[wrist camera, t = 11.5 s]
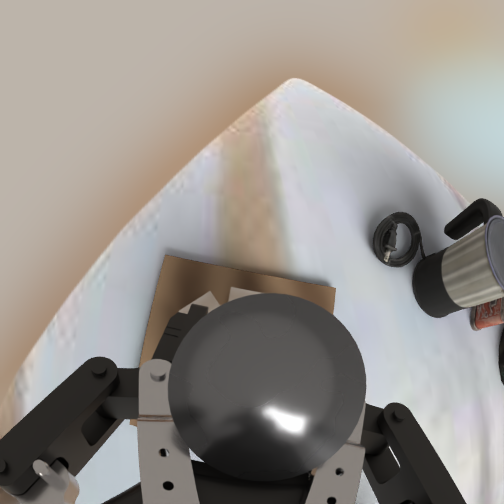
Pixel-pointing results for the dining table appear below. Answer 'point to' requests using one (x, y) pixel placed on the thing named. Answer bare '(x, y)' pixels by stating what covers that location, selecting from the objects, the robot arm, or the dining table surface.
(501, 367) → the beer stein
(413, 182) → the dining table surface
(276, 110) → the dining table surface
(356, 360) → the metal pin
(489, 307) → the lighter
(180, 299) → the castellated collar
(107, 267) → the dining table surface
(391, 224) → the milk frother
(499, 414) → the dining table surface
